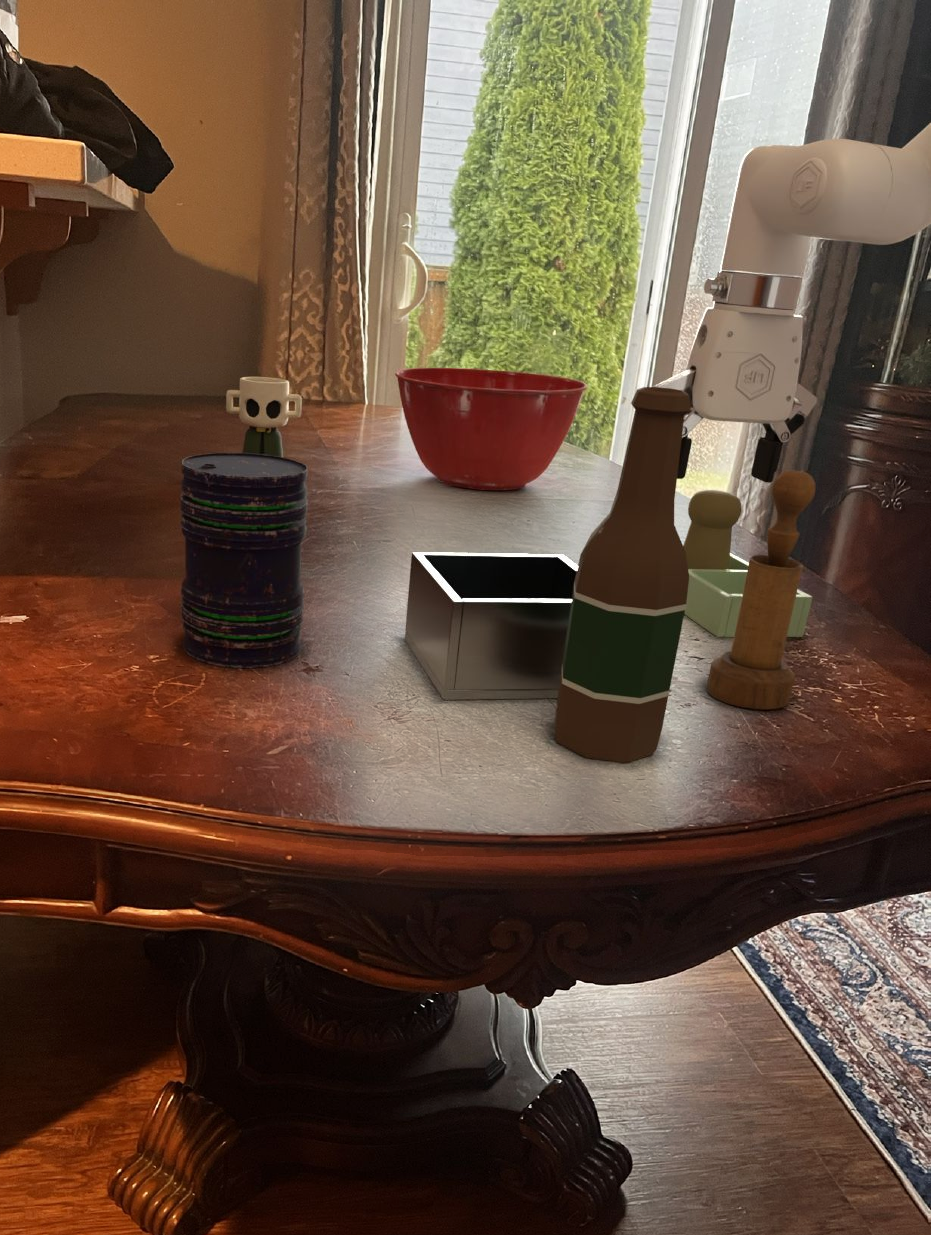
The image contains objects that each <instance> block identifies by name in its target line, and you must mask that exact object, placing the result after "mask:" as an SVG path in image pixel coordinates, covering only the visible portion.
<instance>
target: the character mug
mask: <svg viewBox="0 0 931 1235" xmlns="http://www.w3.org/2000/svg"><path fill="white" fill-rule="evenodd" d="M225 396H226V398H225V402H226V403H225V410H226V413H228V414H230V415H231V414H232V415H238V417H239V419H240V422H241V423H242V424H243V425H245V426H248V428H247V429H246V432H245V434H244V440H243V445H242V452H241V453H250V454H262V455H271V456H277V457H283V458H284V448H283V440H282V439H283V438H282V434H281V432H280V431H279V430H278V429H279V428H282V427H284V426H286V425H287V424H288V421H289V419H290V418H292V419H299V418H301V416H302V406H303V398H302V395H300V394H295V393H290V381H289V380H287V379H283V378H278V377H267V376H243V377H240V378H239V389H228V390H226V394H225ZM234 398H239V405H238V406H234ZM290 402H294V410H289V403H290Z"/></svg>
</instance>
